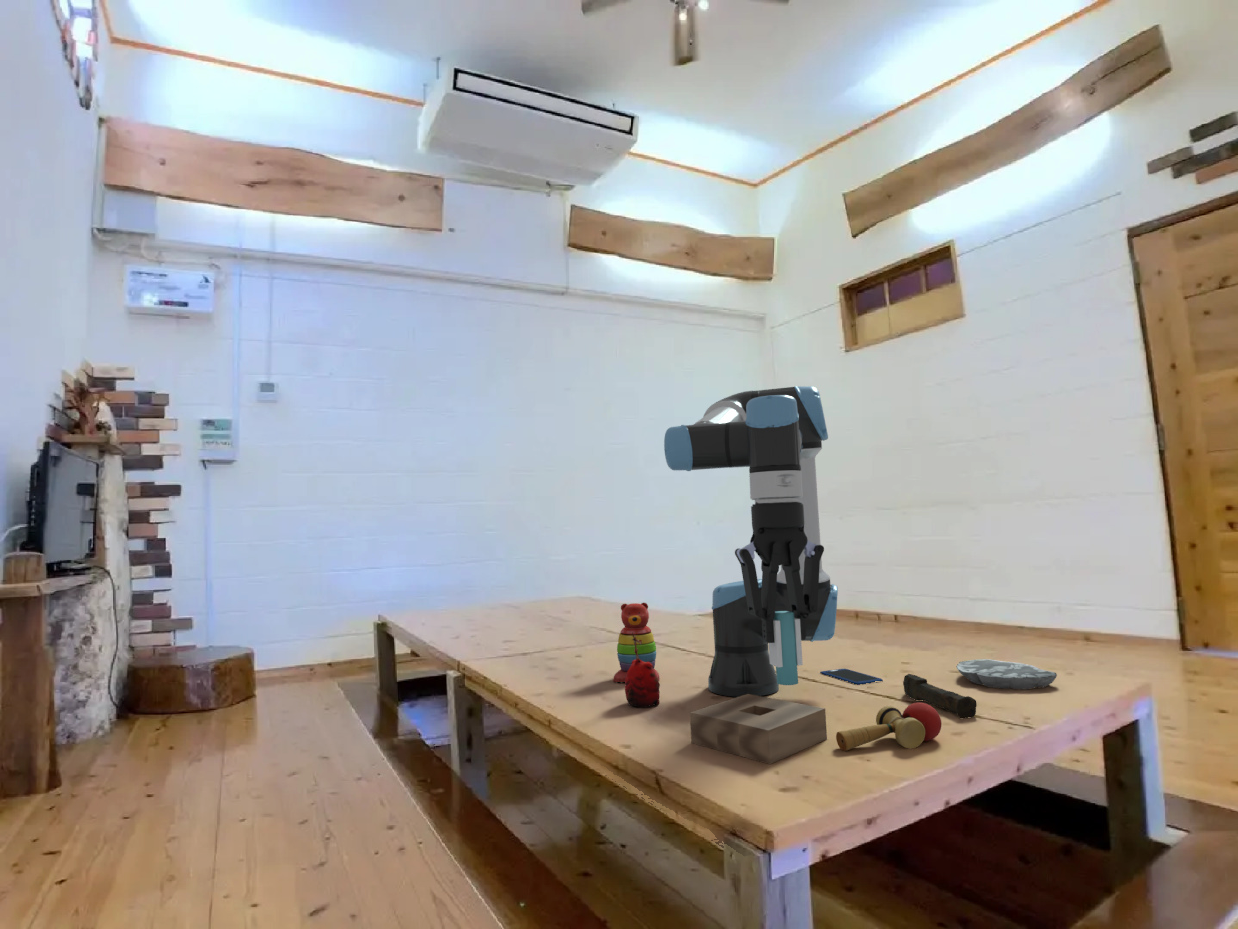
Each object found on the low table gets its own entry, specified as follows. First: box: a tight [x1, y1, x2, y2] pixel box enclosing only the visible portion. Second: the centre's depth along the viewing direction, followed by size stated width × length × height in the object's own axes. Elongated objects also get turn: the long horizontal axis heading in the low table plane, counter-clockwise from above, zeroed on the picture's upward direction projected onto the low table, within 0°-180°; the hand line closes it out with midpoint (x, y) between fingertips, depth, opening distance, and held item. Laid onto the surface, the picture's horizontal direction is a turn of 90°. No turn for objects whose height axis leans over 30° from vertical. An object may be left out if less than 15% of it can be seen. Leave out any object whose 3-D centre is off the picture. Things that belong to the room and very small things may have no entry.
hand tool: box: [902, 673, 978, 719], centre depth 137 cm, size 19×4×5 cm, turn 10°
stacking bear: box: [612, 602, 661, 683], centre depth 170 cm, size 11×10×18 cm
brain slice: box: [955, 658, 1058, 690], centre depth 153 cm, size 20×17×3 cm
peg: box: [774, 611, 799, 686], centre depth 103 cm, size 3×3×10 cm
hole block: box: [689, 694, 828, 765], centre depth 119 cm, size 16×16×5 cm
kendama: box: [835, 701, 942, 752], centre depth 115 cm, size 8×6×18 cm
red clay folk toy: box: [624, 632, 661, 708], centre depth 146 cm, size 8×7×15 cm
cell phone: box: [819, 668, 883, 686], centre depth 163 cm, size 7×14×1 cm, turn 20°
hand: (786, 664), depth 103 cm, fingers closed on peg, 2 cm apart
